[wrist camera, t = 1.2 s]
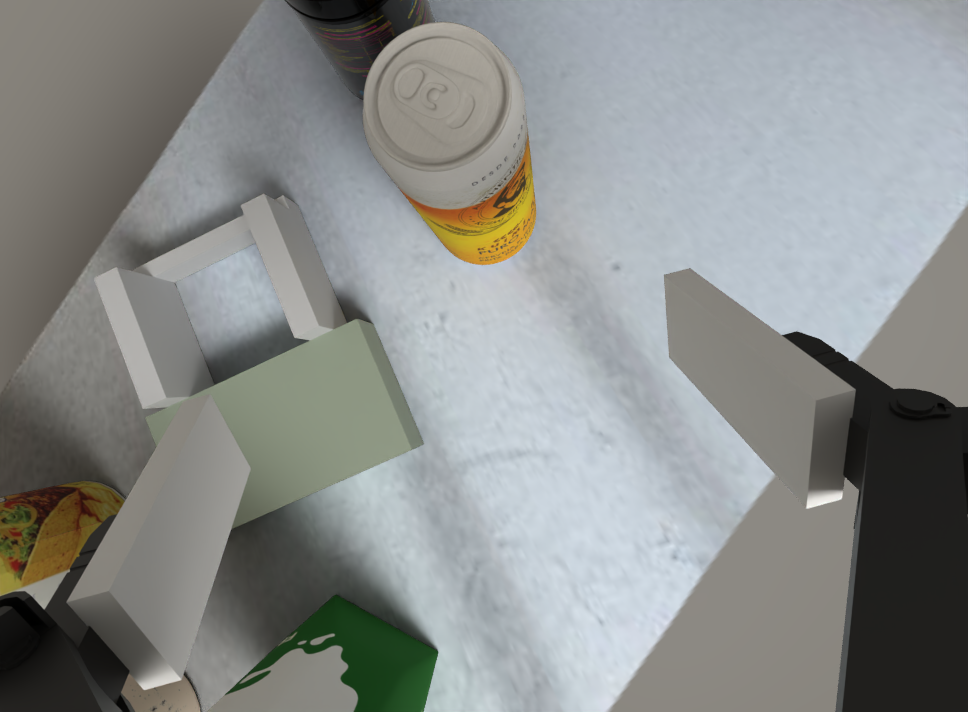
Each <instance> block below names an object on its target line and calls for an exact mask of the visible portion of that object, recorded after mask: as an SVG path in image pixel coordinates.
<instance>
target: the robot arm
mask: <svg viewBox="0 0 968 712" xmlns="http://www.w3.org/2000/svg"><path fill="white" fill-rule="evenodd" d="M664 284H665V299H666V315H667V330H668V346H669V358H670V359H671V360H672V361H673V362H674V363H675V364H676V365H677V367H678V368H679V369H680V370H681V371H682V372H683V373H684V374H685V375H686V376H687V378H688V379H689V380H690V381H691V382H692V383H693V384H694V385H695V386H696V388H697V389H698V390H699V391H700V392H701V393H702V394H703V395H704V396H705V397H706V399H707V400H708V401H709V402H710V403H711V404H712V405H713V406H714V407H715V408H716V410H717V411H718V412H719V413H720V414H721V415H722V416H723V417H724V418H725V420H726V421H727V422H728V423H729V424H730V425H731V426H732V427H733V428H734V429H735V431H736V432H737V433H738V434H739V435H740V436H741V437H742V438H743V439H744V440H745V442H746V443H747V444H748V445H749V446H750V447H751V448H752V449H753V450H754V452H755V453H756V454H757V455H758V456H759V457H760V458H761V459H762V460H763V461H764V463H765V464H766V465H767V466H768V467H769V468H770V469H771V470H772V471H773V472H774V474H775V475H776V476H777V477H778V478H779V479H780V480H781V481H782V482H783V483H784V484H785V486H786V487H787V488H788V489H789V490H790V491H791V492H792V493H793V495H795V497H796V498H797V499H798V500H799V501H800V502H801V503H802V504H803V506H805V508H806V509H808V508H811V507H815V506H819V505H822V504H826V503H829V502H833V501H837V500H841V499H842V494H843V487H844V478H845V477H846V478H847V479H848V480H849V481H850V482H851V483H852V484H853V485H854V486H855V487H856V488H857V489H859V496H858V502H857V509H856V515H855V523H854V529H855V530H854V540H853V550H852V559H851V568H850V578H849V589H848V597H847V607H846V617H845V626H844V635H843V645H842V654H841V665H840V673H839V684H838V693H837V702H836V712H968V516H967V514H968V407H955V405H953V404H952V403H951V402H949V401H948V400H947V399H945V398H943V397H941V396H939V395H936V394H934V393H931V392H927V391H922V390H917V389H893V388H891V387H890V386H888V385H887V384H885V383H884V382H882V381H881V380H879V379H878V378H876V377H875V376H873V375H872V374H870V373H869V372H868V371H866V370H865V369H863V368H862V367H860V366H859V365H857V364H856V363H854V362H853V361H849V360H848V358H847V357H845V356H844V355H842V354H841V353H839V352H836V351H835V349H834V348H832V347H831V346H829V345H828V344H826V343H825V342H823V341H822V340H820V339H818V338H815V337H812V336H809V335H806V334H803V333H800V332H793V333H789V334H785V335H780V334H779V333H778V332H776V331H775V330H774V329H772V328H771V327H770V326H768V325H767V324H765V323H764V322H763V321H761V320H760V319H759V318H757V317H756V316H755V315H753V314H752V313H750V312H749V311H748V310H746V309H745V308H744V307H742V306H741V305H739V304H738V303H737V302H735V301H734V300H733V299H731V298H730V297H729V296H727V295H726V294H724V293H723V292H722V291H720V290H719V289H718V288H716V287H715V286H714V285H712V284H711V283H709V282H708V281H707V280H705V279H704V278H703V277H701V276H700V275H698V274H697V273H696V272H694V271H693V270H692V269H690V268H689V269H685V270H681V271H677V272H674V273H670V274H666V275H664ZM250 470H251V468H250V466H249V464H248V462H247V461H246V459H245V457H244V455H243V453H242V451H241V450H240V448H239V446H238V444H237V442H236V440H235V439H234V437H233V435H232V433H231V431H230V429H229V428H228V426H227V424H226V422H225V420H224V418H223V416H222V415H221V413H220V411H219V409H218V407H217V405H216V404H215V402H214V400H213V398H212V396H211V394H209V395H205V396H201V397H197V398H193V399H189V400H186V401H183V402H182V404H181V406H180V408H179V409H178V411H177V413H176V414H175V416H174V418H173V420H172V421H171V423H170V425H169V426H168V428H167V430H166V432H165V433H164V435H163V437H162V439H161V440H160V442H159V444H158V445H157V447H156V449H155V451H154V452H153V454H152V456H151V457H150V459H149V461H148V463H147V464H146V466H145V468H144V469H143V471H142V473H141V475H140V476H139V478H138V480H137V482H136V483H135V485H134V487H133V488H132V490H131V492H130V494H129V495H128V497H127V499H126V500H125V502H124V504H123V506H122V507H121V509H120V511H119V512H118V514H115V515H111V516H109V517H108V518H107V519H106V520H105V521H104V522H103V523H102V524H101V525H100V526H99V527H98V528H97V529H96V530H95V531H94V532H93V533H92V534H91V535H90V536H89V538H88V539H87V541H86V543H85V544H84V546H83V547H82V549H81V551H80V552H79V557H76V559H75V561H74V562H73V564H72V565H71V567H70V572H68V573H67V574H66V575H65V577H64V578H63V580H62V582H61V583H60V585H59V587H58V588H57V590H56V592H55V593H54V595H53V596H52V598H51V600H50V601H49V603H48V605H47V606H46V608H45V609H43V608H42V607H41V606H40V605H39V603H38V602H37V601H36V600H35V599H34V598H33V597H32V596H31V595H30V594H28V593H27V592H26V591H14V592H11V593H8V594H5V595H2V596H0V712H135V710H134V709H133V707H132V705H131V703H130V702H129V701H128V700H127V699H126V697H125V696H124V695H123V694H122V693H121V691H122V689H123V686H124V684H125V682H126V679H127V677H128V674H130V675H131V676H132V677H133V678H134V679H135V680H136V682H137V683H138V684H139V685H140V686H141V687H142V688H143V689H144V690H147V689H151V688H154V687H158V686H162V685H165V684H169V683H173V682H176V681H180V680H182V678H183V675H184V671H185V668H186V665H187V662H188V659H189V656H190V653H191V650H192V647H193V644H194V641H195V638H196V635H197V632H198V629H199V626H200V623H201V620H202V616H203V613H204V610H205V607H206V604H207V601H208V598H209V595H210V592H211V589H212V586H213V583H214V580H215V577H216V574H217V571H218V568H219V565H220V562H221V558H222V555H223V552H224V549H225V546H226V543H227V540H228V537H229V534H230V531H231V528H232V525H233V522H234V519H235V516H236V513H237V510H238V507H239V504H240V500H241V497H242V494H243V491H244V488H245V485H246V482H247V479H248V476H249V473H250Z"/></svg>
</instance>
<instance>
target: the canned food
mask: <svg viewBox="0 0 968 712" xmlns="http://www.w3.org/2000/svg"><path fill="white" fill-rule="evenodd" d="M125 500H126V499H125V498H124V497H123V496H122V495H120V494H119V493H118V492H117V491H116V490H115V489H113V488H111V487H109V486H107V485H104V484H102V483H99V482H92V481H80V482H73V483H68V484H63V485H58V486H53V487H48V488H43V489H38V490H33V491H28V492H24V493H19V494H14V495H9V496H4V497H0V596H2V595H5V594H8V593H11V592H14V591H26V592H27V593H28V594H30V595H31V596H32V597H33V598H34V599H35V600H36V601H37V602H38V603H39V605H40V606H41V607H42V608H43V609H45V608H46V606H47V605H48V603H49V601H50V600H51V598H52V596H53V595H54V593H55V592H56V590H57V588H58V587H59V585H60V583H61V582H62V580H63V578H64V577H65V575H66V574H67V573H68V572H70V567H71V565H72V564H73V562H74V561H75V559H76V557H79V552H80V551H81V549H82V547H83V546H84V544H85V543H86V541H87V539H88V538H89V536H90V535H91V534H92V533H93V532H94V531H95V530H96V529H97V528H98V527H99V526H100V525H101V524H102V523H103V522H104V521H105V520H106V519H107V518H108V517H109V516H111V515H115V514H118V512H119V511H120V509H121V507H122V506H123V504H124V502H125Z"/></svg>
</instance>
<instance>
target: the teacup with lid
mask: <svg viewBox="0 0 968 712" xmlns="http://www.w3.org/2000/svg"><path fill="white" fill-rule="evenodd" d="M121 693H122V694H123V695H124V696H125V697H126V699H127V700H128V701H129V702H130V703H131V705H132V707H133V709H134V710H135V712H201V711H200V706H199V702H198V699H197V697H196V694H195V692H194V690H193V688H192V686H191V684H190V683H189V681H188V680H187V679H186V677H185V676H184V675H183V678H182V680H180V681H176V682H173V683H169V684H165V685H162V686H158V687H154V688H151V689H147V690H144V689H143V688H142V687H141V686H140V685H139V684H138V683H137V682H136V680H135V679H134V678H133V677H132V676H131V675H130V674H128V677H127V679H126V682H125V684H124V686H123V689H122V691H121Z"/></svg>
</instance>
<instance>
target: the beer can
mask: <svg viewBox="0 0 968 712" xmlns="http://www.w3.org/2000/svg"><path fill="white" fill-rule="evenodd" d="M363 103H364V106H363V126H364V132H365V136H366V139H367V142H368V145H369V147H370V149H371V152H372V153H373V155H374V157H375V158H376V160H377V161H378V162H379V164H380V165H381V166H382V167H383V169H384V170H385V171H386V173H387V174H388V175H389V176H390V178H391V179H392V180H393V181H394V183H395V184H396V185H397V186H398V188H399V189H400V190H401V191H402V193H403V194H404V195H405V197H406V198H407V199H408V200H409V202H410V203H411V204H412V205H413V207H414V208H415V209H416V210H417V212H418V213H419V214H420V215H421V217H422V218H423V219H424V221H425V222H426V223H427V224H428V226H429V227H430V228H431V229H432V231H433V232H434V233H435V234H436V236H437V237H438V238H439V239H440V241H441V242H442V243H443V245H444V246H445V247H446V248H447V249H448V250H449V251H450V252H451V253H452V254H453V255H454V256H456V257H458V258H459V259H461V260H463V261H466V262H469V263H472V264H478V265H489V264H495V263H498V262H502V261H504V260H506V259H508V258H510V257H512V256H513V255H514V254H516V253H517V252H518V251H519V250H520V249H521V248H522V247H523V246H524V245H525V244H526V242H527V241H528V239H529V237H530V236H531V234H532V231H533V229H534V225H535V220H536V204H535V195H534V185H533V175H532V166H531V156H530V147H529V137H528V128H527V118H526V109H525V99H524V92H523V87H522V83H521V80H520V78H519V75H518V73H517V71H516V69H515V67H514V66H513V64H512V63H511V61H510V60H509V59H508V57H507V56H506V55H505V54H504V53H503V52H502V51H501V50H500V49H499V48H498V47H497V46H495V45H494V44H493V43H492V42H491V41H490V40H489V39H488V38H487V37H485V36H484V35H482V34H481V33H480V32H478V31H476V30H474V29H472V28H470V27H467V26H464V25H461V24H457V23H450V22H435V23H428V24H423V25H420V26H417V27H414V28H412V29H410V30H407V31H405V32H404V33H402V34H400V35H399V36H397V37H396V38H395V39H393V40H392V41H391V42H390V43H389V44H388V45H387V46H386V47H385V48H384V49H383V50H382V51H381V53H380V54H379V55H378V57H377V58H376V60H375V61H374V63H373V65H372V67H371V69H370V71H369V74H368V76H367V80H366V83H365V89H364V100H363Z"/></svg>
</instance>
